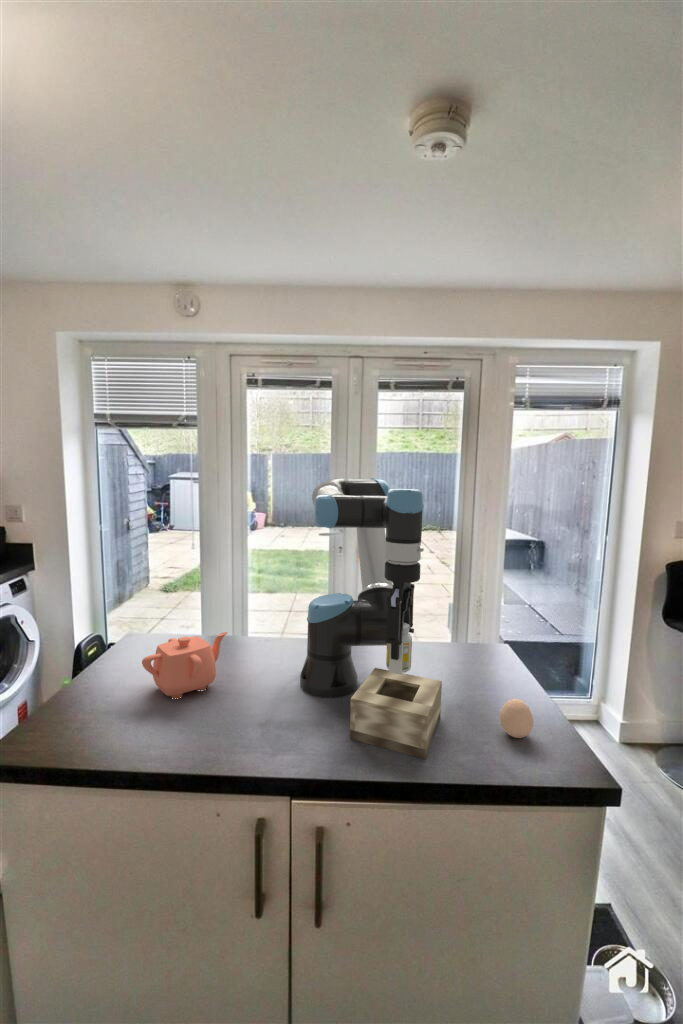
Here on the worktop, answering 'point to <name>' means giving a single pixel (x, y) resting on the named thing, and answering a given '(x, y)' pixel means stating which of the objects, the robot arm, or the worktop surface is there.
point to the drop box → (396, 712)
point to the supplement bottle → (404, 649)
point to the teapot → (184, 664)
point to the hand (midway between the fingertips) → (399, 666)
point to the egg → (516, 718)
